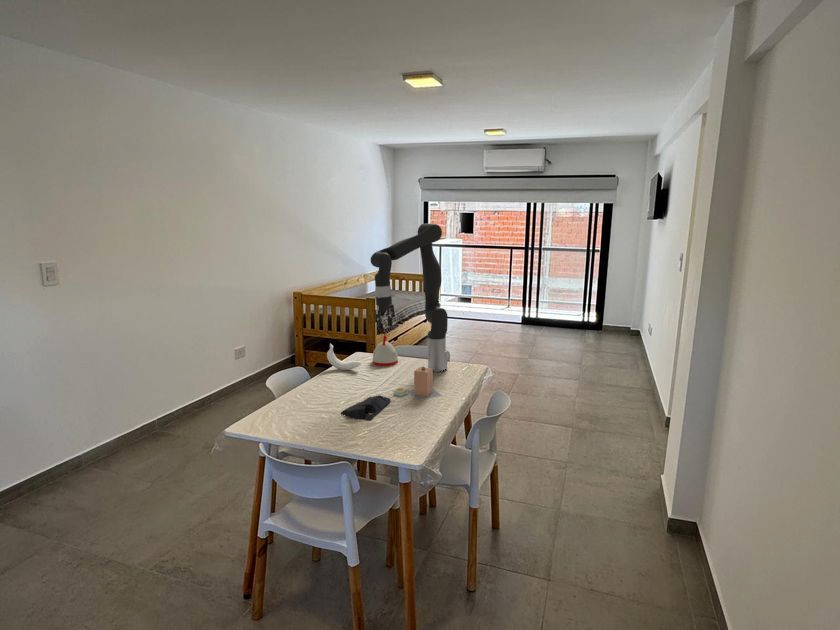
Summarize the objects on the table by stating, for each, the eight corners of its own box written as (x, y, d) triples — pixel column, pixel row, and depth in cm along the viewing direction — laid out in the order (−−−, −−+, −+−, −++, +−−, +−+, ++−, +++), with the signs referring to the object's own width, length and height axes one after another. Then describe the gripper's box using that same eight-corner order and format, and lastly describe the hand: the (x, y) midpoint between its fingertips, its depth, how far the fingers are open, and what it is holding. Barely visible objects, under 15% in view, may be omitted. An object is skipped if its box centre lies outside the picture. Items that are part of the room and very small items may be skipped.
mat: (430, 388, 231) (430, 387, 231) (442, 396, 221) (442, 395, 220) (407, 392, 227) (407, 391, 227) (417, 401, 216) (417, 399, 216)
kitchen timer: (399, 359, 280) (399, 333, 277) (396, 366, 266) (395, 339, 263) (375, 358, 281) (374, 332, 278) (370, 365, 267) (369, 338, 264)
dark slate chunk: (397, 404, 214) (396, 393, 213) (369, 423, 195) (368, 411, 194) (367, 398, 221) (366, 388, 220) (337, 416, 201) (336, 405, 201)
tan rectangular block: (420, 390, 228) (420, 364, 225) (432, 391, 225) (432, 366, 223) (414, 394, 222) (414, 368, 220) (427, 396, 220) (426, 370, 217)
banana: (360, 372, 256) (359, 345, 253) (325, 370, 260) (324, 343, 257) (363, 369, 261) (362, 342, 258) (329, 367, 265) (328, 341, 262)
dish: (398, 392, 226) (398, 387, 226) (407, 394, 224) (406, 388, 224) (393, 396, 222) (393, 390, 222) (402, 397, 220) (402, 391, 220)
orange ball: (402, 392, 225) (402, 385, 225) (404, 394, 222) (404, 388, 222) (396, 393, 224) (396, 386, 223) (398, 395, 221) (398, 389, 221)
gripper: (384, 292, 240) (386, 324, 244) (368, 297, 228) (371, 331, 232) (397, 292, 237) (399, 325, 241) (382, 298, 225) (384, 332, 228)
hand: (385, 328), depth 236 cm, fingers open, 8 cm apart
